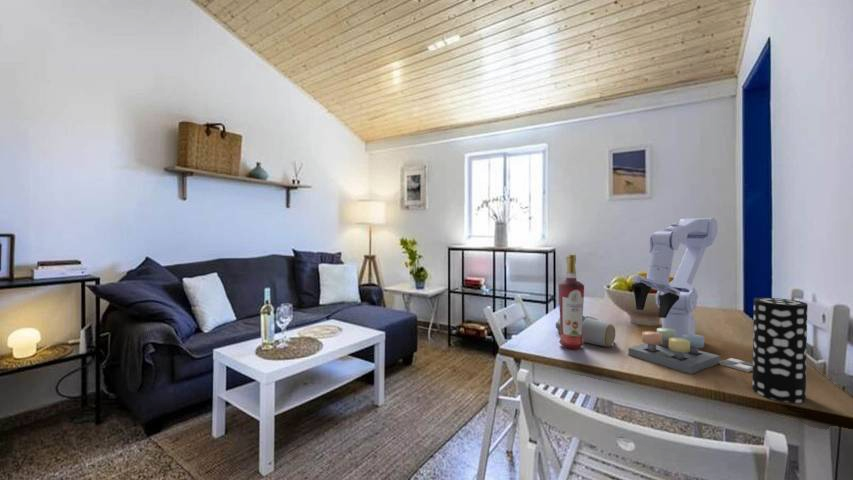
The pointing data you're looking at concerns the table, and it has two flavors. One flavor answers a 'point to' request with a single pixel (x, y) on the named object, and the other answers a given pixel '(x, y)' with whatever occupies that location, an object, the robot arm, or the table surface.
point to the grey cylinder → (598, 332)
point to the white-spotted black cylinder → (780, 349)
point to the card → (738, 364)
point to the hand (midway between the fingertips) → (650, 313)
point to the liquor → (571, 307)
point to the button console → (668, 358)
